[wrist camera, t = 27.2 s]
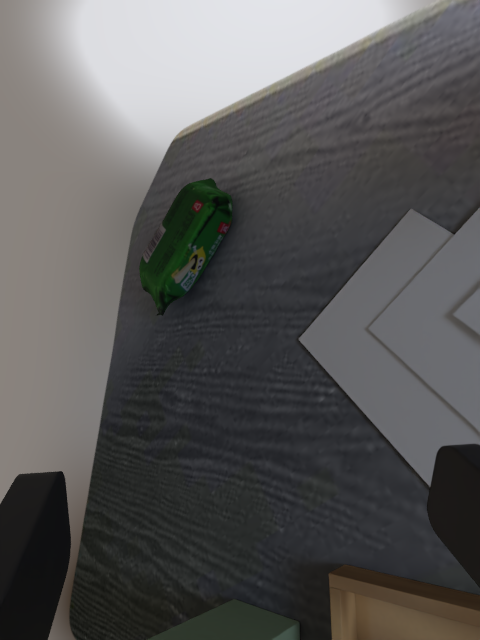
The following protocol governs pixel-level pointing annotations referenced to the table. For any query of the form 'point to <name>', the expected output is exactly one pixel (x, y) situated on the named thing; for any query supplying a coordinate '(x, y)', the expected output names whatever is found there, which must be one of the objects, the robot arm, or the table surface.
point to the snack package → (185, 242)
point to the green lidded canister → (234, 625)
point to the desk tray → (398, 608)
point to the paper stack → (410, 338)
